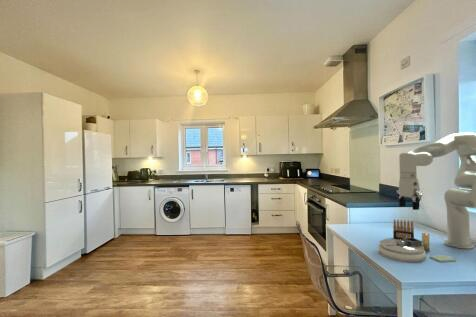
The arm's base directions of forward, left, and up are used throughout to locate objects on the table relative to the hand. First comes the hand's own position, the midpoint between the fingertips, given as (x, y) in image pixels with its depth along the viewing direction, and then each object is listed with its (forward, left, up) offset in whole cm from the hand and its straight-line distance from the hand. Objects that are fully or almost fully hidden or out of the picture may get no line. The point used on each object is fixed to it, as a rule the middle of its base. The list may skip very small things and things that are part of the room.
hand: (409, 207), depth 139 cm
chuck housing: (+10, +6, -22) cm, 25 cm away
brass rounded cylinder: (-7, +2, -22) cm, 24 cm away
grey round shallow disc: (+10, +6, -19) cm, 22 cm away
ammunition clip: (-10, -18, -23) cm, 31 cm away
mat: (-5, +14, -22) cm, 27 cm away
